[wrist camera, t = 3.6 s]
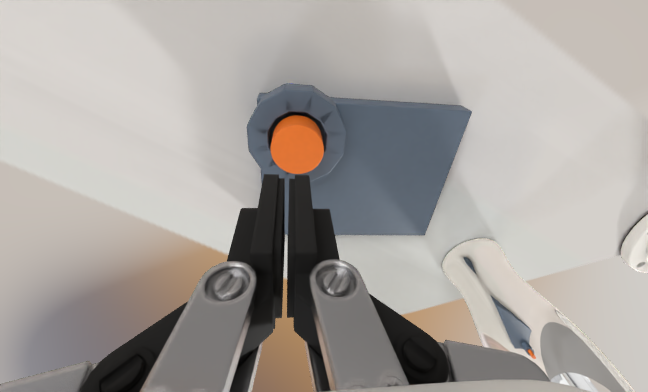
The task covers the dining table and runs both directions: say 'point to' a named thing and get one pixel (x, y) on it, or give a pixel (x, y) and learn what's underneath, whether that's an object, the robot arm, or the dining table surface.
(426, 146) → the scale
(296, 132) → the button
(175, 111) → the dining table surface
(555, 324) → the beer glass
